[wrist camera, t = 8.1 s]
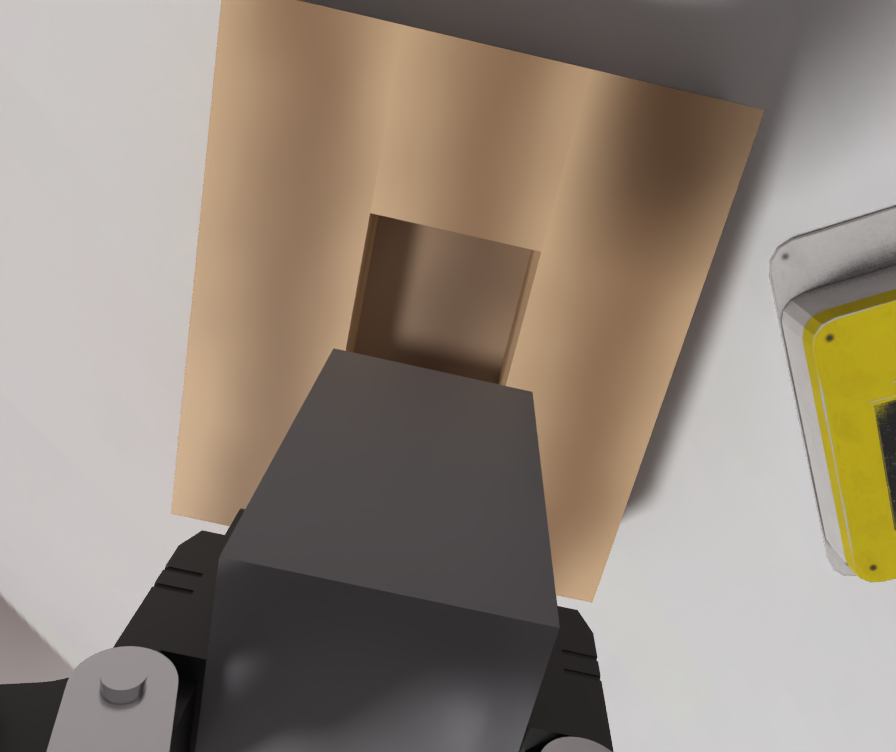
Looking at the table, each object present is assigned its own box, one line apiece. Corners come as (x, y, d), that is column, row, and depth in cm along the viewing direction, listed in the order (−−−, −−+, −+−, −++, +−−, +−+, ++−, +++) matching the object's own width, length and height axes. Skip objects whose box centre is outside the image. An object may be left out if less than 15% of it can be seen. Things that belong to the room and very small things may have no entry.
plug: (294, 575, 18) (179, 877, 11) (333, 348, 16) (219, 556, 9) (471, 612, 18) (457, 932, 11) (532, 391, 16) (560, 628, 9)
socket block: (206, 462, 33) (171, 513, 29) (260, -8, 26) (223, -18, 23) (580, 542, 34) (592, 602, 30) (727, 102, 27) (764, 109, 23)
